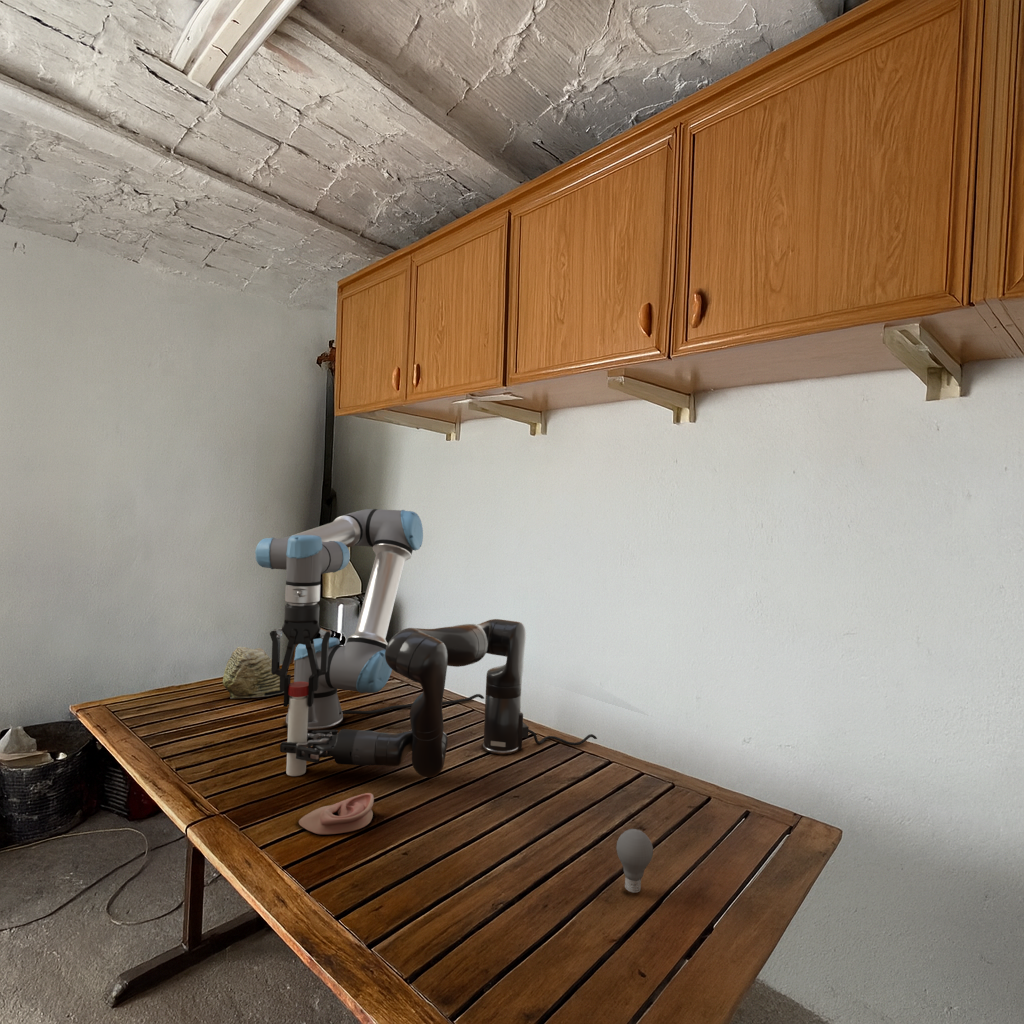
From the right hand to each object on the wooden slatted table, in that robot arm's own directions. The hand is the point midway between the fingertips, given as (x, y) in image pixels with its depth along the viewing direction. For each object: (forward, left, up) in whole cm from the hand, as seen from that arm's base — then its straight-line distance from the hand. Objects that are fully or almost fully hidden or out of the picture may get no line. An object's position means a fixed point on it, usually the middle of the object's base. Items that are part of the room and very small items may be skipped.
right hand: (285, 742), depth 145 cm
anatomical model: (-8, +26, -7) cm, 28 cm away
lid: (-2, +1, +13) cm, 14 cm away
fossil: (+6, -60, -7) cm, 60 cm away
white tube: (-2, +1, -7) cm, 7 cm away
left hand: (-2, +1, +9) cm, 9 cm away
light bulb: (-52, +64, -7) cm, 83 cm away
